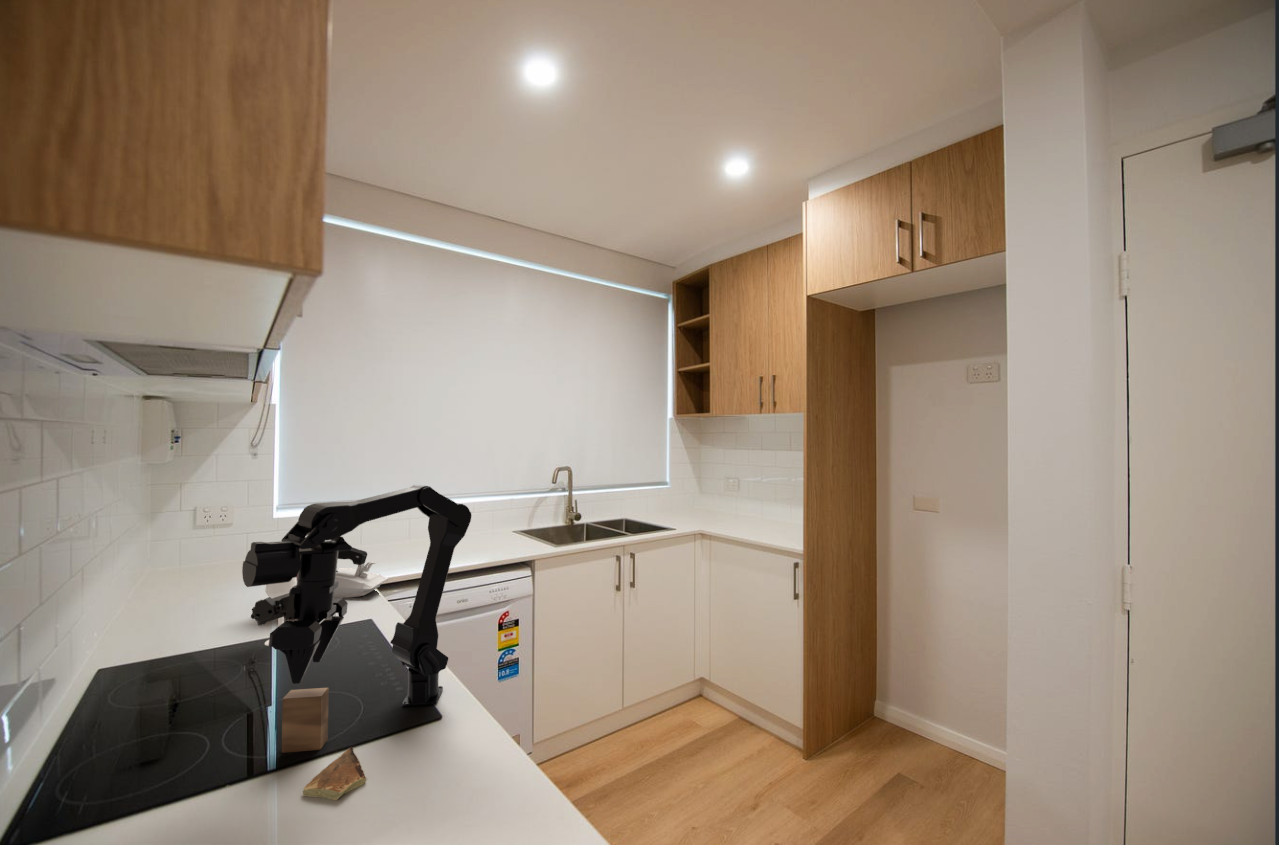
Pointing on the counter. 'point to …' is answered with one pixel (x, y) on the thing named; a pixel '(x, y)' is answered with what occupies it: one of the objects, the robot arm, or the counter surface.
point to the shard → (337, 777)
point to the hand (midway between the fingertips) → (307, 672)
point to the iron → (356, 576)
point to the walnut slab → (305, 720)
